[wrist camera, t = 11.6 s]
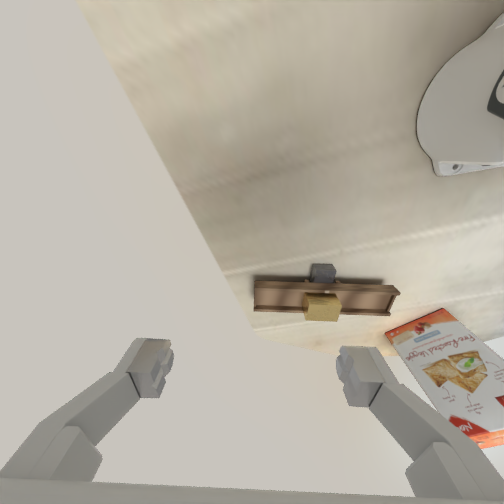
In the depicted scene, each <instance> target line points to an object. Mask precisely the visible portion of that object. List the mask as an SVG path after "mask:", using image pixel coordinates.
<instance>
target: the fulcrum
mask: <svg viewBox="0 0 504 504" xmlns="http://www.w3.org/2000/svg"><path fill="white" fill-rule="evenodd" d="M335 274H336V269H335V268H334V266H333V265H332V264H313V265H312V271H311V276H310V281H309V282H310V283H333V282H334V278H335Z"/></svg>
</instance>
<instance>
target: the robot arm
mask: <svg viewBox="0 0 504 504" xmlns="http://www.w3.org/2000/svg"><path fill="white" fill-rule="evenodd" d="M417 135H418V139H419V142H420V145H421V147H422V148H423V150H424V151H425V152H426V153H427V154H428V155H429V156H430V158H431V159H432V162H433V167H434V171H435V173H436V175H438V176H450V175H456V174H462V173H468V172H474V171H480V170H486V169H492V168H498V167H504V13H503V14H501V15H500V16H499V17H498V18H497V19H496V20H495V22H494V23H493V24H492V25H491V26H490V27H489V28H488V29H487V31H486V32H485V33H484V34H483V35H482V36H481V37H479V38H478V39H477V40H475V41H474V42H472V43H471V44H469V45H468V46H466V47H465V48H463V49H462V50H460V51H459V52H458V53H457V54H455V55H454V56H453V57H452V58H451V59H450V60H449V61H448V62H447V63H446V64H445V65H444V66H443V67H442V68H441V70H440V71H439V72H438V73H437V75H436V76H435V78H434V79H433V81H432V82H431V84H430V85H429V87H428V89H427V91H426V93H425V95H424V97H423V100H422V102H421V105H420V109H419V113H418V118H417ZM453 166H454V168H453ZM452 168H453V169H452ZM170 346H171V342H170V340H166V339H150V338H136V339H135V340H134V341H133V342H132V344H131V345H130V347H129V348H128V350H127V351H126V353H125V354H124V356H123V357H122V359H121V360H120V362H119V363H118V365H117V367H116V368H115V369H114V371H113V372H109V373H108V374H106V375H105V376H103V377H102V378H101V379H99V380H98V381H96V382H95V383H94V384H92V385H91V386H90V387H88V388H87V389H86V390H84V391H83V392H81V393H80V394H79V395H77V396H76V397H74V398H73V399H72V400H70V401H69V402H68V403H66V404H65V405H64V406H62V407H61V408H59V409H58V410H57V411H55V412H54V413H52V414H51V415H50V416H48V417H47V418H46V419H44V420H43V421H41V422H40V423H39V424H38V425H37V426H36V428H35V429H34V430H33V431H32V433H31V434H30V435H29V436H28V437H27V439H26V440H25V441H24V443H23V444H22V445H21V446H20V447H19V449H18V450H17V451H16V452H15V453H14V455H13V456H12V457H11V458H10V460H9V461H8V462H7V463H6V465H5V466H4V467H3V468H2V470H1V471H0V504H504V480H503V478H502V477H501V476H500V474H499V473H498V472H497V470H496V469H495V468H494V466H493V465H492V464H491V462H490V461H489V460H488V458H487V457H486V456H485V455H484V453H483V452H482V450H481V449H480V448H479V446H478V445H477V444H476V443H475V442H474V441H473V440H472V439H470V438H469V437H468V436H467V435H466V434H464V433H463V432H462V431H461V430H459V429H458V428H457V427H456V426H454V425H453V424H452V423H451V422H449V421H448V420H447V419H446V418H444V417H443V416H442V415H441V414H439V413H438V412H437V411H436V410H434V409H433V408H432V407H431V406H429V405H428V404H427V403H426V402H425V401H423V400H422V399H421V398H420V397H418V396H417V395H416V394H415V393H413V392H412V391H411V390H410V389H409V388H407V387H406V386H405V385H404V384H399V382H398V381H397V379H396V377H395V376H394V374H393V373H392V371H391V369H390V368H389V366H388V364H387V363H386V361H385V360H384V358H383V356H382V355H381V353H380V352H379V350H378V349H377V348H376V347H363V346H342V347H341V348H340V350H339V351H340V354H341V355H339V356H338V357H337V360H336V370H337V374H338V377H339V379H340V380H341V381H342V382H343V383H344V387H343V391H344V393H345V396H346V399H347V402H348V404H349V406H356V407H369V409H370V411H371V412H372V413H373V414H374V415H375V416H376V418H377V419H378V420H379V421H380V422H381V423H382V425H383V426H384V427H385V428H386V429H387V430H388V432H389V433H390V434H391V435H392V436H393V437H394V438H395V440H396V441H397V442H398V443H399V444H400V446H401V447H402V448H403V449H404V450H405V451H406V453H407V454H408V455H409V456H410V457H411V458H412V460H413V461H414V462H413V463H412V464H411V465H410V466H409V467H408V468H407V469H406V472H405V474H406V476H407V479H408V481H409V483H410V485H411V488H412V490H413V492H414V494H415V496H416V497H401V496H400V497H399V496H380V495H359V494H338V493H336V494H335V493H316V492H296V491H275V490H254V489H232V488H211V487H190V486H168V485H148V484H126V483H105V482H92V480H93V478H94V476H95V474H96V472H97V470H98V468H99V466H100V463H101V462H102V455H101V454H100V452H99V451H98V450H97V449H96V447H95V446H96V445H97V444H98V443H99V442H100V441H101V440H102V438H103V437H104V436H105V435H106V434H107V433H108V432H109V431H110V430H111V429H112V428H113V427H114V426H115V425H116V424H117V423H118V421H120V420H121V419H122V417H123V416H124V415H125V414H126V413H127V412H128V411H129V410H130V409H131V408H132V407H133V406H134V405H135V404H136V403H137V402H138V400H139V399H140V398H159V397H160V395H161V393H162V390H163V387H164V385H165V383H166V381H165V378H164V377H165V376H166V375H167V374H168V373H169V372H170V370H171V367H172V364H173V359H174V354H173V350H171V349H170Z"/></svg>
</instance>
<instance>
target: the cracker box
mask: <svg viewBox="0 0 504 504" xmlns="http://www.w3.org/2000/svg"><path fill="white" fill-rule="evenodd" d="M385 334H386V336H387V338H388V339H389V341H390V342H391V344H392V345H393V347H394V348H395V350H396V351H397V352H398V354H399V355H400V357H401V358H402V360H403V361H404V363H405V364H406V366H407V367H408V369H409V370H410V372H411V373H412V375H413V376H414V377H415V379H416V380H417V382H418V383H419V385H420V386H421V388H422V389H423V391H424V392H425V393H426V395H427V396H428V398H429V399H430V401H431V402H432V404H433V405H434V407H435V408H436V409H437V411H438V412H439V414H441V415H442V416H443V417H444V418H446V419H447V420H448V421H449V422H451V423H452V424H453V425H454V426H456V427H457V428H458V429H459V430H461V431H462V432H463V433H464V434H466V435H467V436H468V437H469V438H470V439H472V440H473V441H474V442H475V443H476V444H477V445H478V446H479V448H480V449H483V448H488V447H494V446H498V445H503V444H504V359H502V358H501V357H500V356H499V355H498V354H497V353H496V352H494V351H493V350H492V349H491V348H490V347H489V346H487V345H486V344H485V343H484V342H483V341H482V340H480V339H479V338H478V337H477V336H476V335H475V334H473V333H472V332H471V331H470V330H469V329H468V328H466V327H465V326H464V325H463V324H462V323H461V322H459V321H458V320H457V319H456V318H455V317H453V316H452V315H451V314H450V313H449V312H447V311H446V310H445V309H444V308H443V309H441V310H439V311H436V312H434V313H432V314H429V315H427V316H424V317H422V318H420V319H417V320H415V321H413V322H410V323H408V324H406V325H403V326H401V327H398V328H396V329H394V330H391V331H389V332H386V333H385Z"/></svg>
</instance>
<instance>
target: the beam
mask: <svg viewBox="0 0 504 504" xmlns="http://www.w3.org/2000/svg"><path fill="white" fill-rule="evenodd" d="M304 292H314V293H335V294H336V295H337V297H338V299H339V301H340V303H341V305H342V308H341V311H340V314H346V315H374V316H390V315H391V313H390V312H389V311H390V309H391V306H392V304H393V302H394V300H395V298H396V296H397V295H400V292H399V291H398V290H397V289H396V288H395V287H394V286H393V285H369V284H341V282H340V281H335V283H310V282H309V280H305V281H304V282H278V281H255V287H254V311H260V312H289V313H304V312H303V309H302V301H303V296H304Z"/></svg>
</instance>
